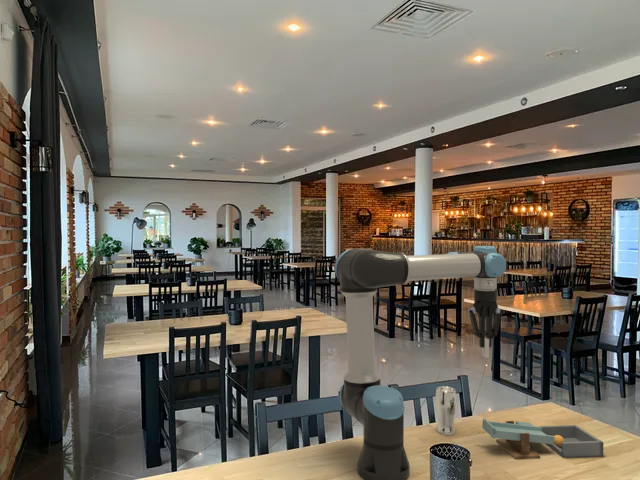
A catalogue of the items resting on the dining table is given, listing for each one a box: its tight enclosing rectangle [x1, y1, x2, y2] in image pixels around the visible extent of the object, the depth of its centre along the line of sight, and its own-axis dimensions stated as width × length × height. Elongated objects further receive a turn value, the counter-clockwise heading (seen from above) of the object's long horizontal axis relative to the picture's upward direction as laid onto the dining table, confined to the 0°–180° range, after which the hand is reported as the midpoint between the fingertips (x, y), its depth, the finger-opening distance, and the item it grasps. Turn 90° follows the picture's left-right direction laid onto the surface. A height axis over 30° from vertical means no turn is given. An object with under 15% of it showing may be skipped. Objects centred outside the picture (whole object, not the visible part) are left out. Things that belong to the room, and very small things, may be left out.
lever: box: [481, 418, 554, 445], centre depth 158 cm, size 20×15×3 cm
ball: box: [554, 435, 564, 447], centre depth 155 cm, size 4×4×4 cm
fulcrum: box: [495, 420, 541, 460], centre depth 154 cm, size 8×13×7 cm, turn 4°
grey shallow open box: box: [538, 424, 604, 459], centre depth 156 cm, size 13×14×4 cm
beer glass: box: [435, 385, 457, 436], centre depth 169 cm, size 7×7×15 cm
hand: (485, 356), depth 169 cm, fingers closed
